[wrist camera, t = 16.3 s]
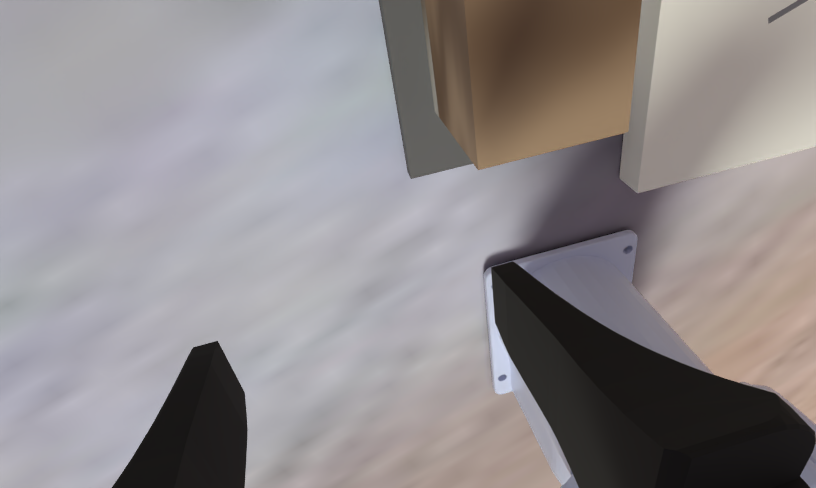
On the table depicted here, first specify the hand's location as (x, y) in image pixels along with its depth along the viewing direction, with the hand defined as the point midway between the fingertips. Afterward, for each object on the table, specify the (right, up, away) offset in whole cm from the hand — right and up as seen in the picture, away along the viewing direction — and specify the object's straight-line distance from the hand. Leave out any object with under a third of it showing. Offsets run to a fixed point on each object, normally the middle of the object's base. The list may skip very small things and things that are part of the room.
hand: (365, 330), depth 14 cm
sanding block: (+4, +11, +5) cm, 12 cm away
